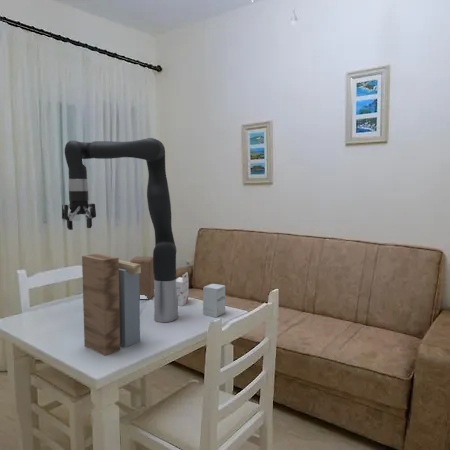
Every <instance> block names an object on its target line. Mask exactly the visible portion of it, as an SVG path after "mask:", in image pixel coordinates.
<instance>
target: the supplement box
mask: <svg viewBox="0 0 450 450" xmlns="http://www.w3.org/2000/svg"><path fill="white" fill-rule="evenodd" d="M202 288H203V290H202V294H203V295H202V315H203V316H209V317H212V318H218V317H220V316H222V315H223V314H226V285H224V284H217V283H210V284H207V285H205V286H203V287H202Z"/></svg>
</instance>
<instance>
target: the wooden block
mask: <svg viewBox="0 0 450 450" xmlns="http://www.w3.org/2000/svg"><path fill="white" fill-rule="evenodd" d="M129 262H131V263H136V264H141V273H139V294H140V295H145V296H147V298H148V301H149V300H151V299H152V297H154V272H153V256H134V257H133V258H131V259H130V261H129Z"/></svg>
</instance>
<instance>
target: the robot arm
mask: <svg viewBox="0 0 450 450" xmlns="http://www.w3.org/2000/svg"><path fill="white" fill-rule="evenodd" d="M165 149H166V148H165V146H164V144H163V143H162V141H160V139H159V140H158V139H156V138H153V137H147V138H143V139H142V138H141V139H137V140H131V141H129V140H128V141H113V140H111V141H109V140H108V141H107V140H106V141H105V140H104V141H103V140H102V141H101V140H100V141H98V140H97V141H96V140H95V141H92V142H87V141H85V142H84V141H78V140H69V141H67V143H66V144H65V146H64V156H65V160H66V164H67V168H68V201H69V204H62V205H61V219H62V220H65V221H66V227H67V229H68V230H70V231H73V229H74V228H73V226H74V224H73V220H74V219H73V218H75V217H76V216H79V215H84V216H85V217H86V228H87V229H91V228H92V226H93V219H94V218H96V217H97V212H96V211H97V210H96V204H95V203H89V185H88V173H87V172H88V171H87V167H86V165H85V164H84V163H83V160H89V159H90V160H91V159H97V160H104V159H105V160H108V159H109V160H110V159H121V158H133V159H139V160H145V161H146V167H147V173H148V180H147V186H146V187H147V188H146V198H147V199H146V200H147V207H148V211H149V216H150V220H151V222H152V226H153V231H154V242H155V243H154V245H155V247H154V248H153V252H152V257H153V272H154V294H153V300H154V301H153V304H154V307H153V309H154V313H153V315H154V316H153V317H154V319H153V320H154V321H156V322H158V323H169V322H174V321H175V320H177V318H179V306H178V296H177V295H176V279H177V263H176V262H177V247H176V243H175V239H174V234H173V229H172V204H171V197H170V190H169V183H168V180H167V179H168V178H167V172H166V150H165ZM88 209H89V210H88ZM69 210H70V211H69Z"/></svg>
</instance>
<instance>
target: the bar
mask: <svg viewBox="0 0 450 450" xmlns="http://www.w3.org/2000/svg"><path fill="white" fill-rule="evenodd" d="M119 269H123V270H127V273H129V274H138V273H141V264H136V263H131V262H130V261H125V260H121V259H120V260H119Z"/></svg>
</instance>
